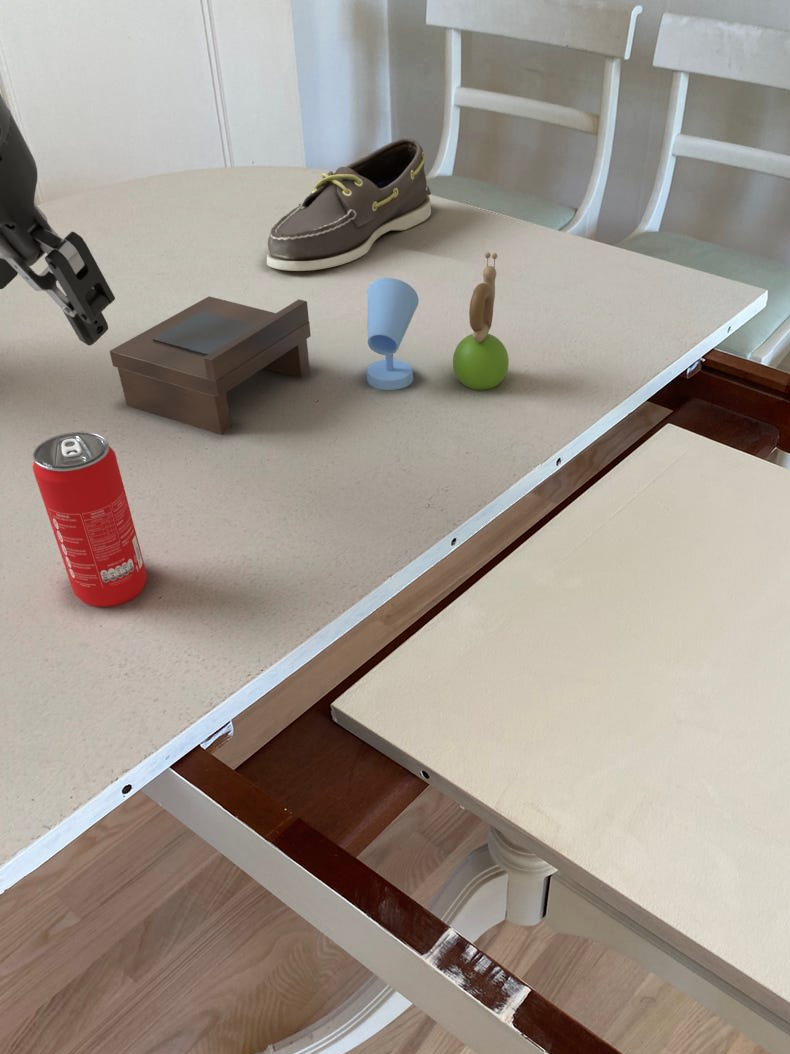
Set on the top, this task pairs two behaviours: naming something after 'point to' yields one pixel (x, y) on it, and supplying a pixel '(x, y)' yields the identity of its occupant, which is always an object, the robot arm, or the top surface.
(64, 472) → the beverage can
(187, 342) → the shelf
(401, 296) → the spotlight
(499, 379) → the snail figurine
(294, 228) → the boat shoe
